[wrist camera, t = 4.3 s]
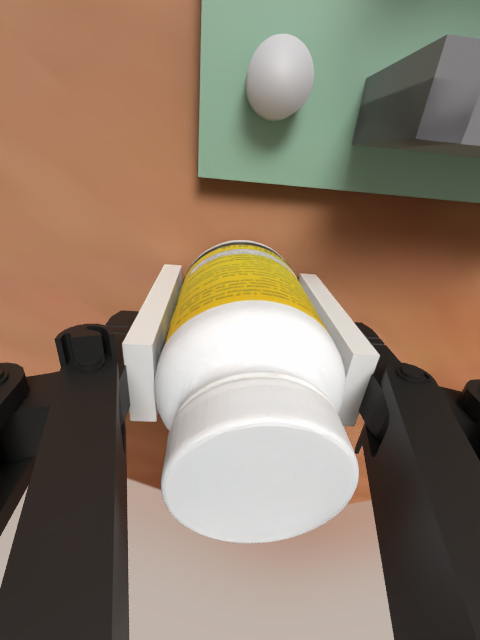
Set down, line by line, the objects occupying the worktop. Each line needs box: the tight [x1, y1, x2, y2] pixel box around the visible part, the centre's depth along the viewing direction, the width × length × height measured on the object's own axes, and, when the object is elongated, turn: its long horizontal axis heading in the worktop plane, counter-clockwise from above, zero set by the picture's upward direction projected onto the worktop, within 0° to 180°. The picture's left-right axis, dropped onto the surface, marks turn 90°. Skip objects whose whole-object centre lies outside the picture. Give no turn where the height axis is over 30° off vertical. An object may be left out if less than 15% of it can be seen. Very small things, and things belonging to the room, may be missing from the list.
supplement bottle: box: [154, 240, 359, 543], centre depth 10 cm, size 5×5×10 cm
